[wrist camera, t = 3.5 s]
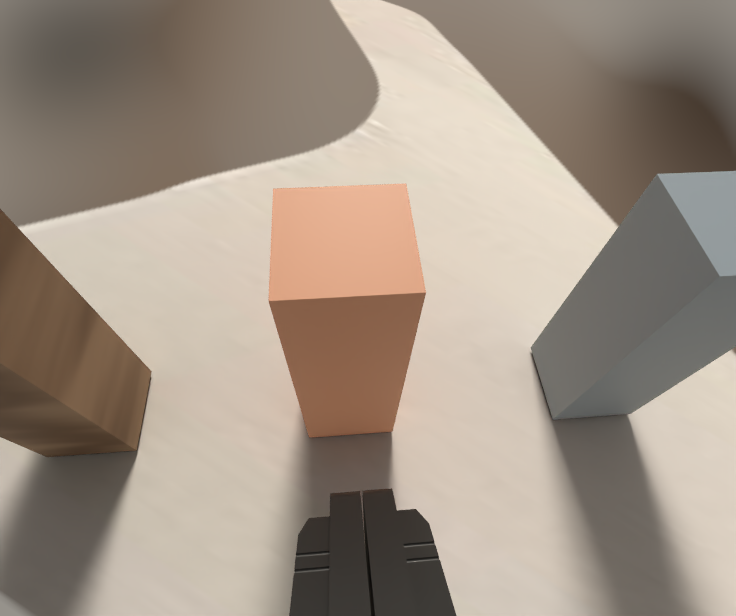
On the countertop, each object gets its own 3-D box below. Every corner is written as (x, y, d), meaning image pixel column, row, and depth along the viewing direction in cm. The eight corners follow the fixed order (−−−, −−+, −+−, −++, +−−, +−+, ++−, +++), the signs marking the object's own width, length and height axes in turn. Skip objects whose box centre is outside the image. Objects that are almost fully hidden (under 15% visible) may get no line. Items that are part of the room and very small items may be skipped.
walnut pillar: (46, 457, 21) (-251, 328, 10) (70, 376, 23) (-159, 205, 13) (136, 450, 21) (-70, 319, 11) (151, 371, 23) (-9, 199, 13)
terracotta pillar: (309, 437, 21) (268, 300, 11) (308, 361, 24) (273, 188, 13) (392, 431, 22) (425, 292, 12) (384, 356, 24) (406, 183, 14)
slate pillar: (552, 419, 22) (719, 276, 12) (530, 347, 24) (656, 174, 14) (630, 413, 22) (857, 269, 12) (601, 343, 25) (775, 169, 14)
